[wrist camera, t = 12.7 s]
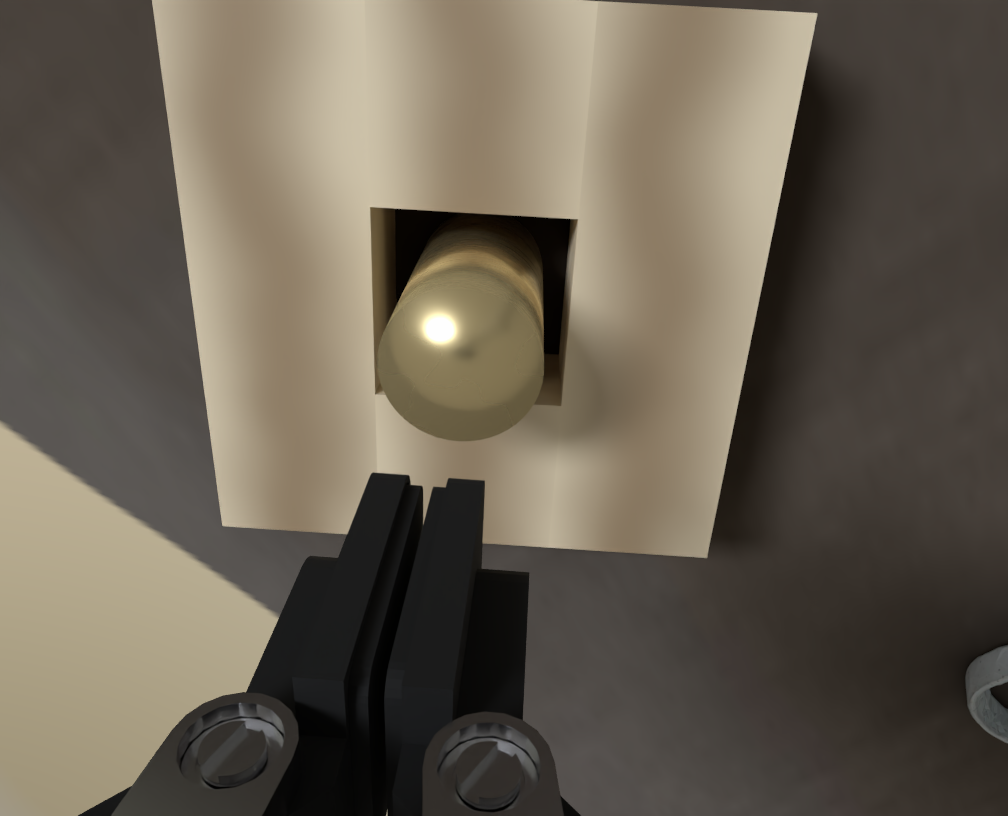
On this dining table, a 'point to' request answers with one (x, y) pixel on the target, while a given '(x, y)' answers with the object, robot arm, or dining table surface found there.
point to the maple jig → (484, 190)
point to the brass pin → (468, 331)
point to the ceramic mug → (988, 691)
